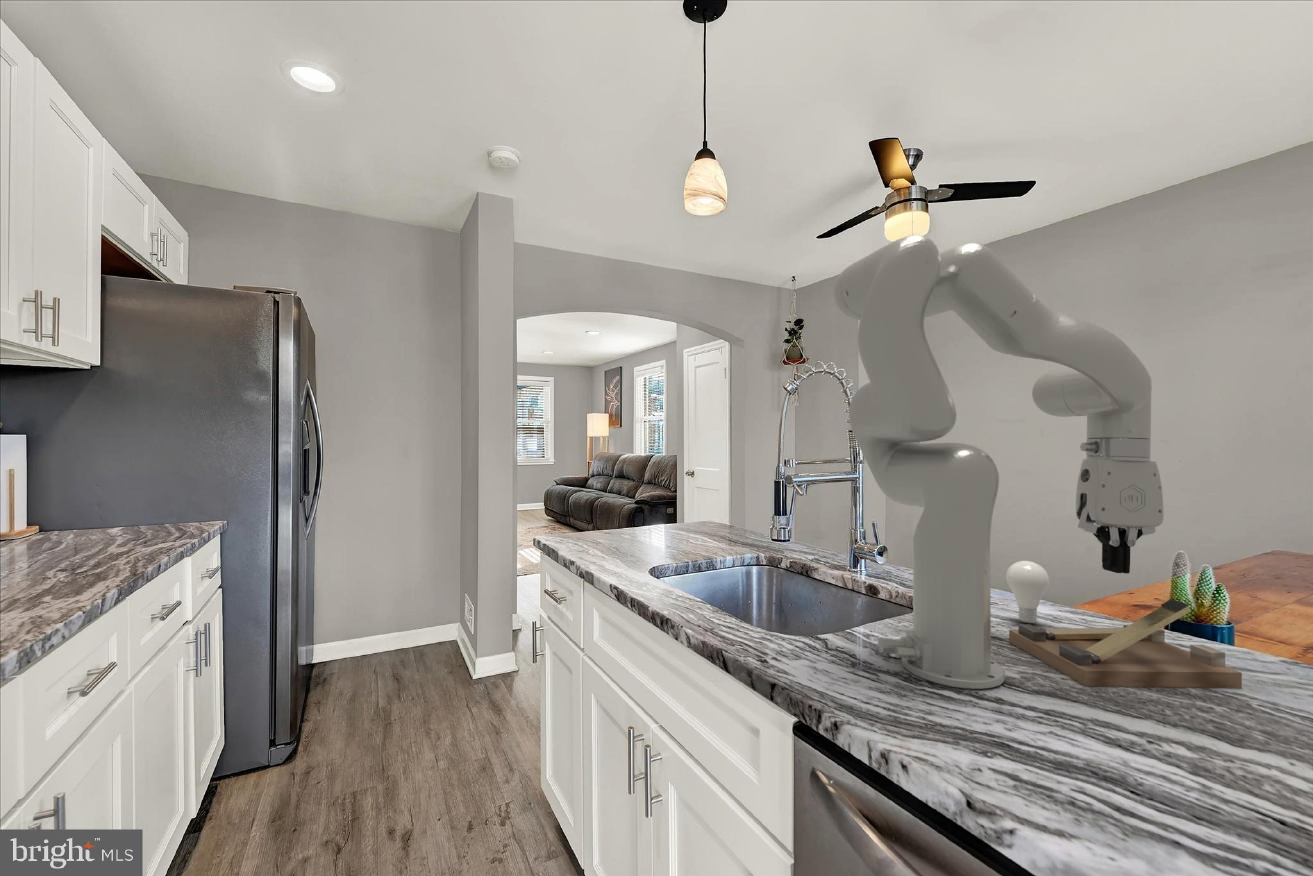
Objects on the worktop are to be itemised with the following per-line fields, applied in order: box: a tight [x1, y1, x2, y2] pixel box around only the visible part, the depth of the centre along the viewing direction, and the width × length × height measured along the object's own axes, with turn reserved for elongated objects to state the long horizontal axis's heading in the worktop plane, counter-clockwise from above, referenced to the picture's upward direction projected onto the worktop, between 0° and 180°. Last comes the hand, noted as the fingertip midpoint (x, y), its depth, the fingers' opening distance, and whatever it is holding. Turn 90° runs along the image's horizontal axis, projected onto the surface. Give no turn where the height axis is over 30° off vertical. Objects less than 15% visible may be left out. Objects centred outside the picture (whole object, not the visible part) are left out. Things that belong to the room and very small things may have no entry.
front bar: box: [1083, 598, 1192, 664], centre depth 75 cm, size 15×2×1 cm, turn 89°
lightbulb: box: [1005, 560, 1051, 625], centre depth 97 cm, size 6×6×11 cm
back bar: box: [1038, 624, 1148, 640], centre depth 84 cm, size 15×2×1 cm, turn 89°
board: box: [1008, 623, 1243, 689], centre depth 80 cm, size 20×16×4 cm
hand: (1115, 571), depth 84 cm, fingers closed
